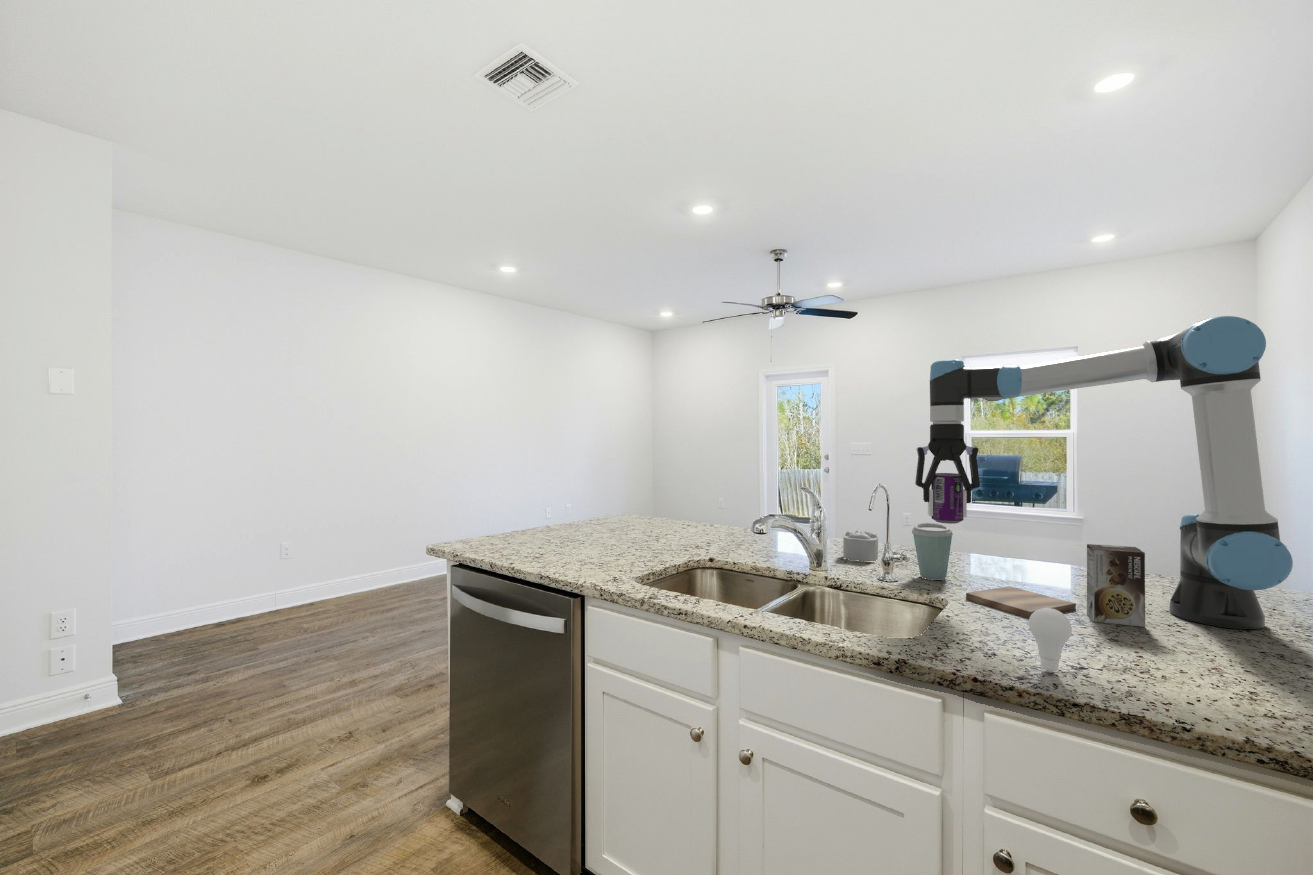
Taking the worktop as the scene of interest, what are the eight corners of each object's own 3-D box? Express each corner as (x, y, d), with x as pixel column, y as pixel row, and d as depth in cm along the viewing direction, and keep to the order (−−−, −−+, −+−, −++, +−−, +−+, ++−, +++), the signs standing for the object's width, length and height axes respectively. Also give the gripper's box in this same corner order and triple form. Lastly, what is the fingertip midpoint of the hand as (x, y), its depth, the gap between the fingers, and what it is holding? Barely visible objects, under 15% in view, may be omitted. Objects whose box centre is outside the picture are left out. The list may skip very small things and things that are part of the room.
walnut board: (1075, 609, 133) (1075, 603, 133) (1030, 618, 126) (1030, 611, 126) (1009, 591, 147) (1009, 586, 147) (965, 598, 141) (966, 592, 141)
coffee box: (1135, 619, 126) (1136, 546, 126) (1146, 628, 120) (1146, 552, 120) (1085, 613, 130) (1086, 543, 130) (1093, 621, 124) (1093, 548, 124)
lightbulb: (1020, 665, 101) (1020, 603, 101) (1052, 664, 102) (1052, 602, 101) (1046, 680, 95) (1046, 614, 95) (1080, 679, 95) (1081, 613, 95)
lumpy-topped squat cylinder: (840, 560, 184) (841, 533, 184) (848, 552, 196) (848, 527, 195) (875, 563, 179) (875, 536, 179) (880, 555, 191) (880, 529, 190)
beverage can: (967, 524, 137) (967, 474, 137) (935, 523, 139) (935, 474, 138) (958, 520, 144) (958, 472, 144) (928, 519, 146) (928, 472, 145)
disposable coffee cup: (959, 583, 155) (959, 529, 155) (917, 582, 157) (917, 527, 157) (945, 574, 166) (945, 522, 165) (906, 572, 167) (906, 521, 167)
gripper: (987, 423, 142) (987, 515, 142) (901, 423, 148) (902, 512, 148) (995, 422, 135) (995, 519, 135) (905, 423, 140) (905, 516, 141)
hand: (946, 515), depth 141 cm, fingers closed on beverage can, 7 cm apart
